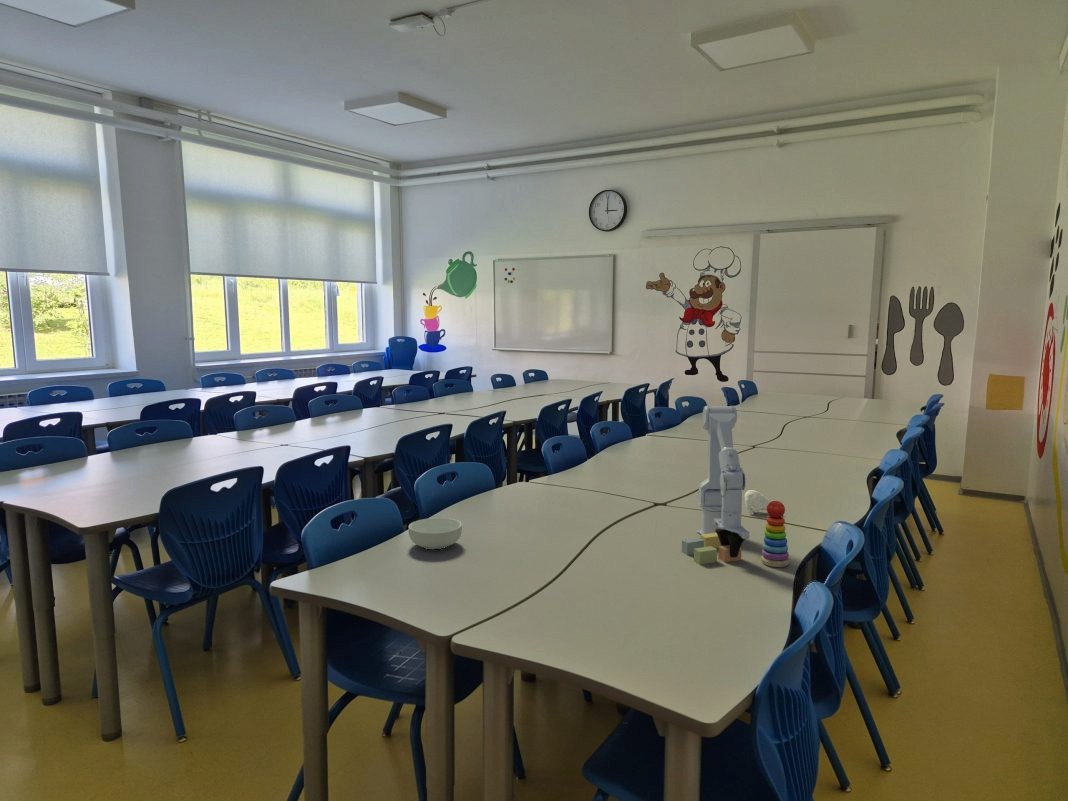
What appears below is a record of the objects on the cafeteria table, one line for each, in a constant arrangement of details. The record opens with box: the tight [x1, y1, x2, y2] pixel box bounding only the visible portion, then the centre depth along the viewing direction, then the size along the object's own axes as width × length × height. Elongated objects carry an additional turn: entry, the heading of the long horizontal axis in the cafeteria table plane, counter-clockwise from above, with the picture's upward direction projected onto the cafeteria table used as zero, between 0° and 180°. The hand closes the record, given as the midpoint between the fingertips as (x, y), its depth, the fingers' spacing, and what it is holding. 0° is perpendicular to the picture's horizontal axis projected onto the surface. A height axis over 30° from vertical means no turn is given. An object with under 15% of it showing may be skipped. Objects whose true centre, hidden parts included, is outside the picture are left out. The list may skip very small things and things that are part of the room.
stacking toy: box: [760, 500, 790, 568], centre depth 194 cm, size 8×8×19 cm
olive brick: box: [693, 546, 718, 566], centre depth 197 cm, size 6×3×4 cm, turn 111°
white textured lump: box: [744, 489, 772, 516], centre depth 244 cm, size 6×8×12 cm
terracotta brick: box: [717, 545, 743, 563], centre depth 199 cm, size 6×3×4 cm, turn 111°
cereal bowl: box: [408, 517, 463, 550], centre depth 211 cm, size 17×17×7 cm
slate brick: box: [681, 537, 704, 556], centre depth 205 cm, size 6×3×4 cm, turn 111°
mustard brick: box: [699, 533, 721, 549], centre depth 209 cm, size 6×3×4 cm, turn 111°
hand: (729, 554), depth 199 cm, fingers open, 3 cm apart
